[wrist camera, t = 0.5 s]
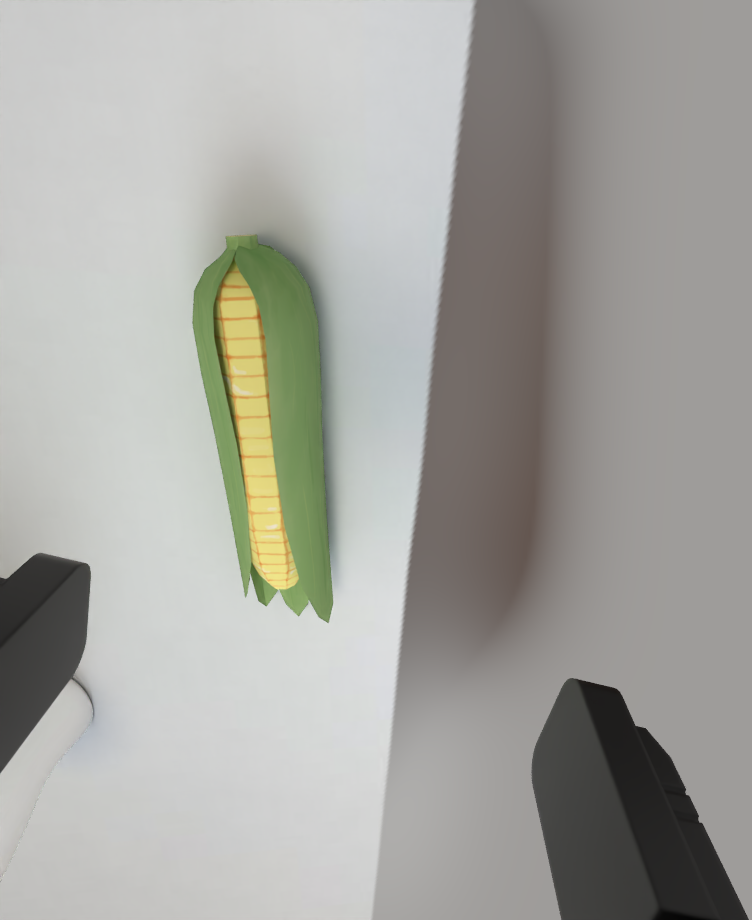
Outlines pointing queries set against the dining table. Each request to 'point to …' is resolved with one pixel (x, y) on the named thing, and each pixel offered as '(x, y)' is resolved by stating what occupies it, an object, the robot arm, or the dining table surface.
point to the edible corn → (267, 418)
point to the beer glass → (39, 764)
